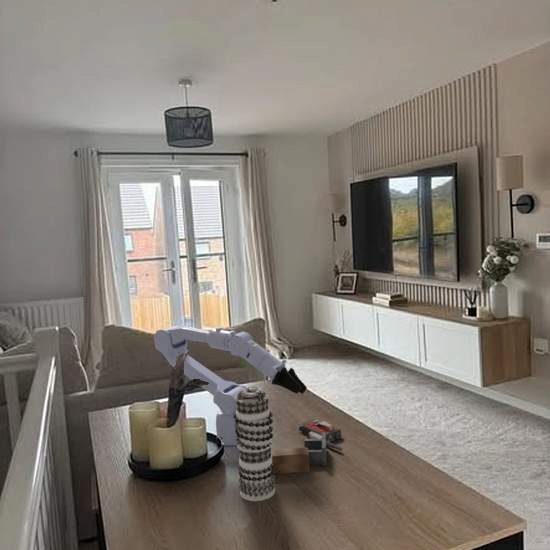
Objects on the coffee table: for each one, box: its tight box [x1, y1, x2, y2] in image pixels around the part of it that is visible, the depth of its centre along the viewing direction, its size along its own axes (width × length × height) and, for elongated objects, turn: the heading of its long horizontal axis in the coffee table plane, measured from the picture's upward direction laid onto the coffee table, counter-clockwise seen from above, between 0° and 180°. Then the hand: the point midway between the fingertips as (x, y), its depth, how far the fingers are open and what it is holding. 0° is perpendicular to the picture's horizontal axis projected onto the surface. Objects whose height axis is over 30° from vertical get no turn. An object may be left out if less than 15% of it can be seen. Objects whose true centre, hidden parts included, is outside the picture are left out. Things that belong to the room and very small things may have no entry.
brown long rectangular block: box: [271, 447, 311, 474], centre depth 133 cm, size 16×4×5 cm, turn 92°
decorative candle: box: [233, 386, 276, 502], centre depth 122 cm, size 9×9×25 cm
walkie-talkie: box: [298, 419, 343, 452], centre depth 151 cm, size 9×4×20 cm
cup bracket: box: [303, 432, 327, 467], centre depth 139 cm, size 6×10×5 cm, turn 175°
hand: (302, 390), depth 142 cm, fingers open, 7 cm apart
